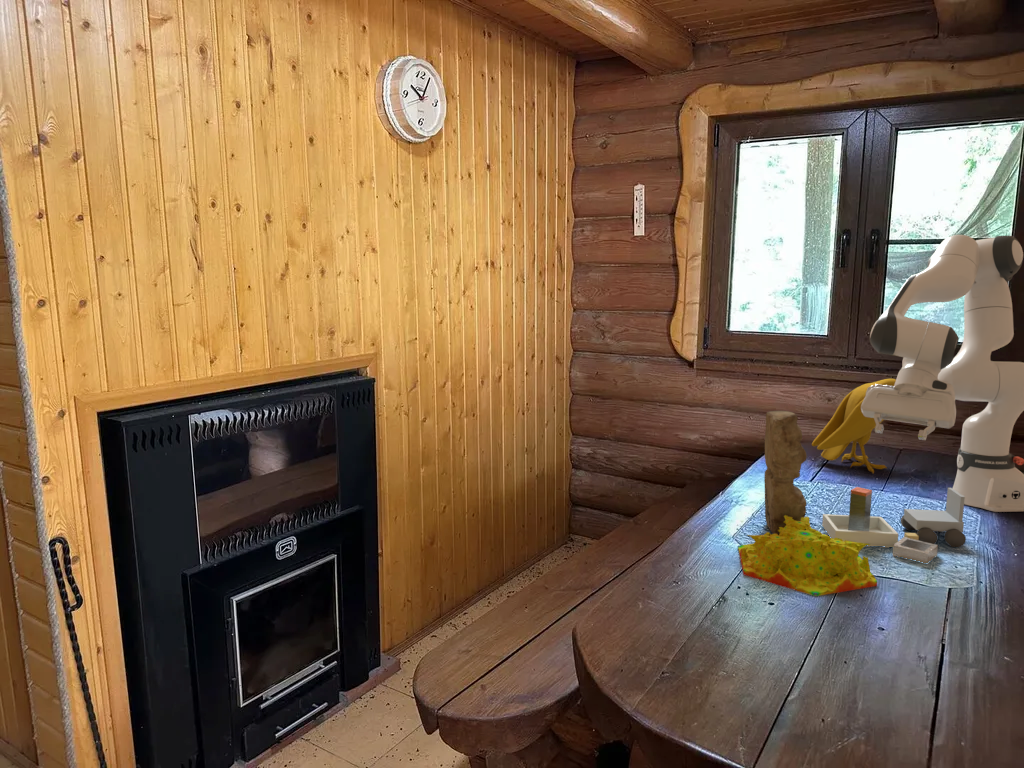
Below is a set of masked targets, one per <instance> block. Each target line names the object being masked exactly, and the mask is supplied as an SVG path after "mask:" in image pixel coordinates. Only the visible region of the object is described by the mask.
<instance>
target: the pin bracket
mask: <svg viewBox="0 0 1024 768" xmlns="http://www.w3.org/2000/svg"><path fill="white" fill-rule="evenodd" d="M938 550H939V546H938V544H936V543H935V544H931V543H927V542H923V541H919V540H915V539H911V538H906V537H904V536H903V537H902V538H900V539H898V542H897V543H895V544H894V545H893V548H892V555H893V557H896V556H898V557H897V558H899V557H903V558H907V559H912V560H916V561H920V562H923V563H928V562H929V561H931V560H932V559H933V558H934V557H935V556H936V557H937V556H938ZM892 555H891V556H892ZM936 557H935V558H936ZM903 558H902V559H903ZM935 558H934V559H935ZM907 559H906V560H907ZM934 559H933V560H934ZM931 562H932V561H931ZM929 563H930V562H929ZM929 563H928V564H929Z"/></svg>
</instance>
